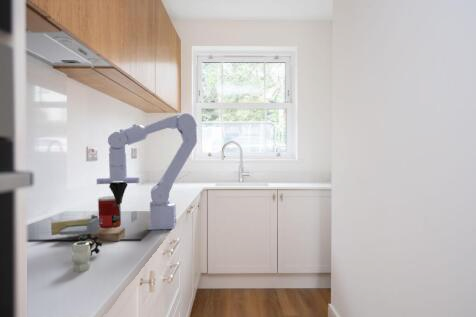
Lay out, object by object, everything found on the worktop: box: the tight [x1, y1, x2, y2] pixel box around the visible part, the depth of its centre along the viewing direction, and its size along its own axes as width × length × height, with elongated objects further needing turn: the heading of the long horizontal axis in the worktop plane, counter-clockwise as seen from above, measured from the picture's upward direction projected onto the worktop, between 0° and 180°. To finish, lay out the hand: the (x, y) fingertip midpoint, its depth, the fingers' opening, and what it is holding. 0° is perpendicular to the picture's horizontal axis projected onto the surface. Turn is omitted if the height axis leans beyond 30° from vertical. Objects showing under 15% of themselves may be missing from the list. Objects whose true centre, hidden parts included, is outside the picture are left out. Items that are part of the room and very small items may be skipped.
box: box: [85, 227, 126, 243], centre depth 101 cm, size 10×7×3 cm
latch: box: [50, 214, 99, 236], centre depth 104 cm, size 2×14×5 cm, turn 116°
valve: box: [71, 233, 104, 273], centre depth 79 cm, size 7×7×12 cm
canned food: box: [97, 195, 122, 228], centre depth 118 cm, size 8×8×11 cm
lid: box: [59, 217, 101, 236], centre depth 100 cm, size 10×7×4 cm, turn 95°
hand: (119, 203), depth 110 cm, fingers closed
